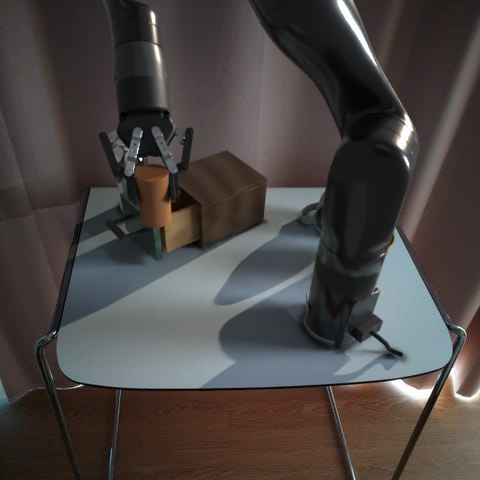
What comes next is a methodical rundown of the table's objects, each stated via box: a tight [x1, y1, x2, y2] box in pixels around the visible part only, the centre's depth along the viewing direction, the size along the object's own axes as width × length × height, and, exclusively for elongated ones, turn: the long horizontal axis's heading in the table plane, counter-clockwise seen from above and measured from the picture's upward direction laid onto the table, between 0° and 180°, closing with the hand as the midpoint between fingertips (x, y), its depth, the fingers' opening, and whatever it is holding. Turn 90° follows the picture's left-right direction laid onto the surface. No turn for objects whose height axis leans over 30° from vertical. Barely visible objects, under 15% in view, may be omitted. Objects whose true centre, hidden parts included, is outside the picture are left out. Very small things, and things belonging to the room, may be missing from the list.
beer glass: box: [113, 129, 149, 213], centre depth 94 cm, size 7×7×15 cm
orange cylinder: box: [135, 163, 172, 228], centre depth 74 cm, size 5×5×8 cm
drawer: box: [104, 189, 200, 262], centre depth 89 cm, size 18×11×8 cm, turn 127°
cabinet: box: [178, 149, 268, 249], centre depth 94 cm, size 15×13×10 cm
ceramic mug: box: [299, 190, 325, 233], centre depth 95 cm, size 11×8×8 cm
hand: (154, 202), depth 72 cm, fingers closed on orange cylinder, 5 cm apart
